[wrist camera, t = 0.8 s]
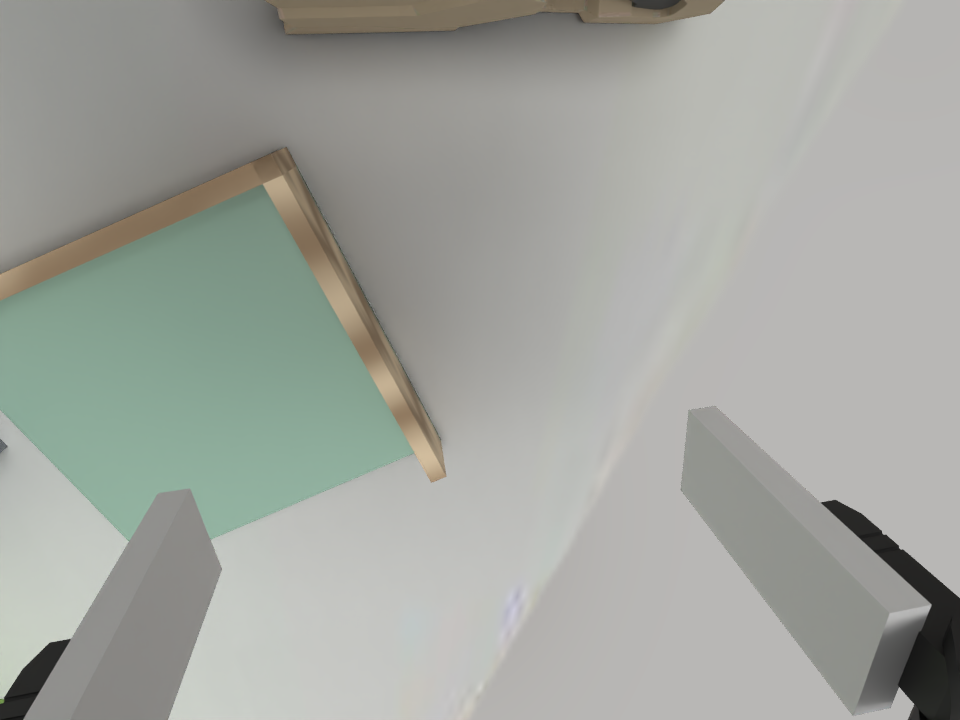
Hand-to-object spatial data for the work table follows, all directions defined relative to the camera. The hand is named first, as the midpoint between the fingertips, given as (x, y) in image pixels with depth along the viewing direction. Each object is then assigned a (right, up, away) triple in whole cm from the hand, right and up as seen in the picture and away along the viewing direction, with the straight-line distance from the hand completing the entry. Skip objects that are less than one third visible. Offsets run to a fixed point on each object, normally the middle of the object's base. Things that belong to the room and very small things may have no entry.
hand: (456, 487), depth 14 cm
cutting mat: (-19, +2, +25) cm, 31 cm away
